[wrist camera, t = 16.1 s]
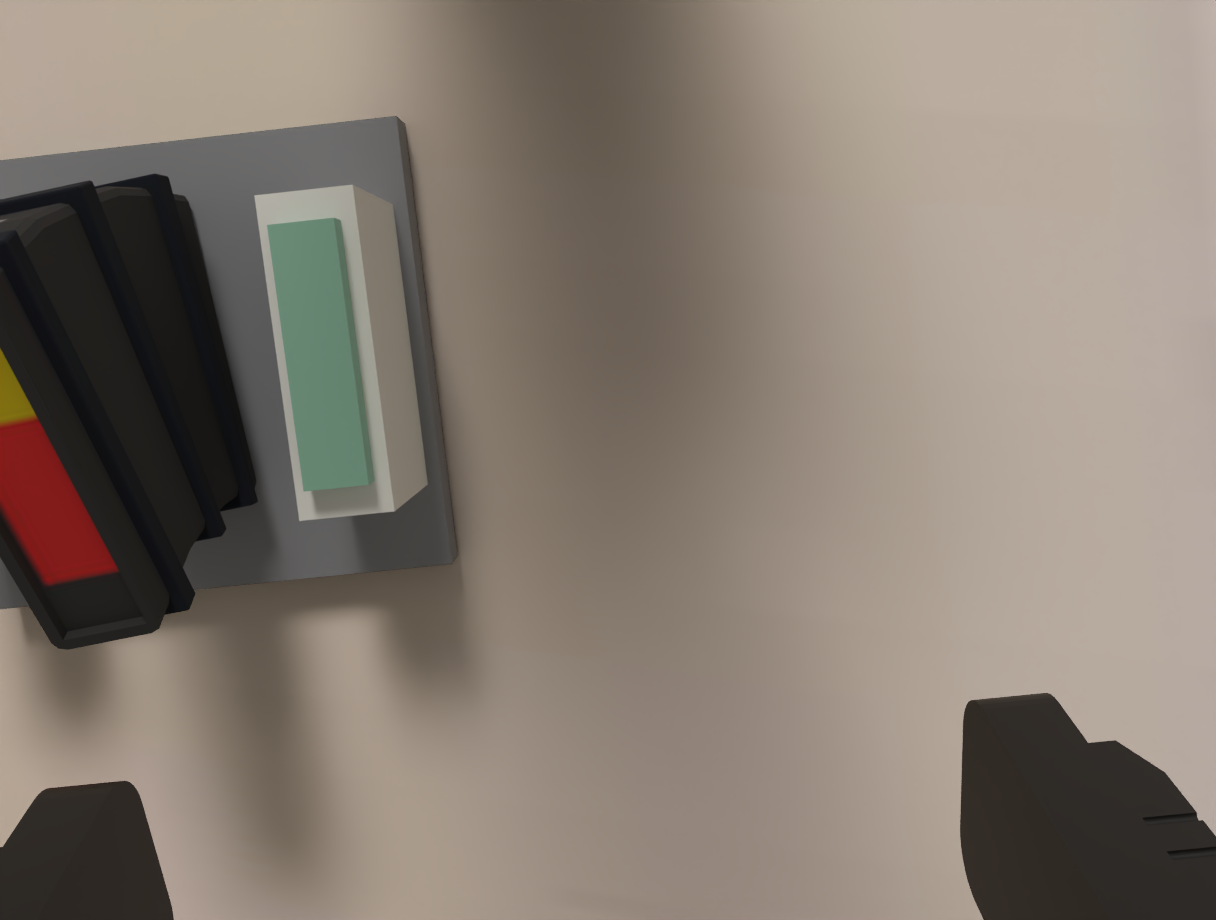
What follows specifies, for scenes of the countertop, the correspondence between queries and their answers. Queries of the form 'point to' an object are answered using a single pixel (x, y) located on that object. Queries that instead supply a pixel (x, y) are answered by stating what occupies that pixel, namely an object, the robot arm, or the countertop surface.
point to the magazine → (110, 407)
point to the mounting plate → (254, 341)
